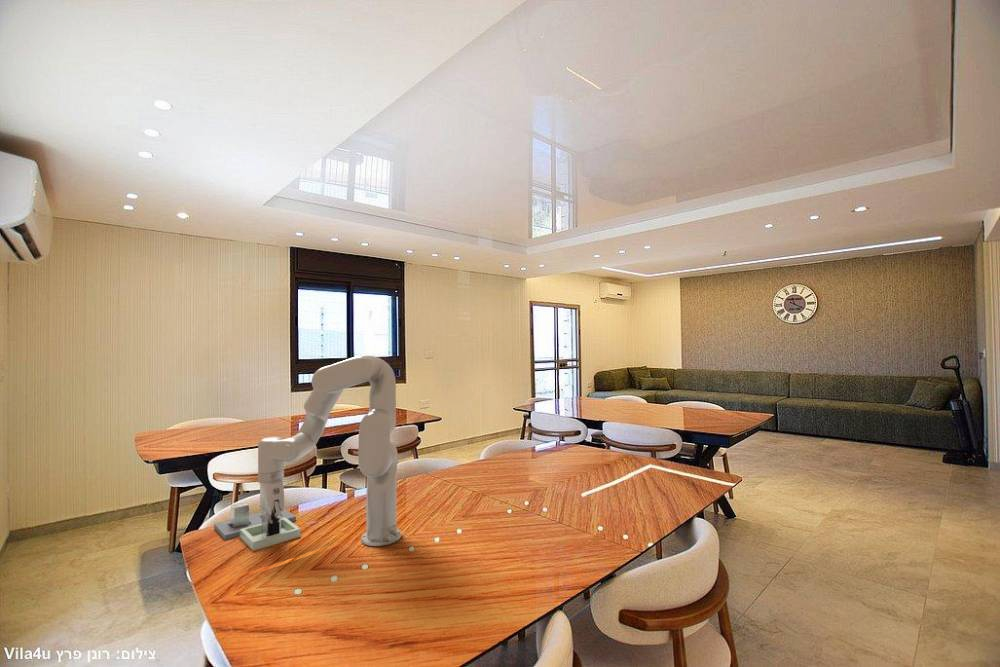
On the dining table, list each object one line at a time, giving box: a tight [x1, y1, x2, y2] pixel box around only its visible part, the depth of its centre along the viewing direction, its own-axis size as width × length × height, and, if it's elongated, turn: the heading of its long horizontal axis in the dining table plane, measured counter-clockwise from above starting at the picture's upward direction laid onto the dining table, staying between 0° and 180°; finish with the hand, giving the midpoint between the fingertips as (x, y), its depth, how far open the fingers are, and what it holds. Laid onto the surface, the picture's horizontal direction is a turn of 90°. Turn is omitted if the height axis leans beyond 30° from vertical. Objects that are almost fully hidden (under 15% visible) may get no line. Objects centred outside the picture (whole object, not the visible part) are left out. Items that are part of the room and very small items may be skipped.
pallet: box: [213, 508, 297, 541], centre depth 153 cm, size 14×22×2 cm, turn 135°
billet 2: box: [261, 509, 281, 538], centre depth 142 cm, size 4×4×9 cm
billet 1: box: [230, 501, 250, 529], centre depth 149 cm, size 4×4×9 cm
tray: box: [239, 518, 302, 552], centre depth 142 cm, size 14×14×4 cm
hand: (271, 532), depth 142 cm, fingers closed on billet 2, 4 cm apart
